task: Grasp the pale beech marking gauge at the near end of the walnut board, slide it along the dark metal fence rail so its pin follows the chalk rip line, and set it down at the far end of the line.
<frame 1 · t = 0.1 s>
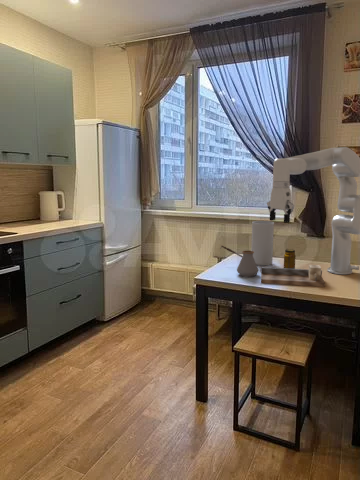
hand: (279, 221, 176), 31 cm above the table, tool pointing down, fingers open, 9 cm apart
cylinder vase: (261, 263, 222), on the table
coffee pot: (238, 274, 199), on the table
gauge: (314, 277, 184), point 2 cm above the table, touching board
board: (291, 281, 185), on the table
condiment: (290, 271, 205), on the table
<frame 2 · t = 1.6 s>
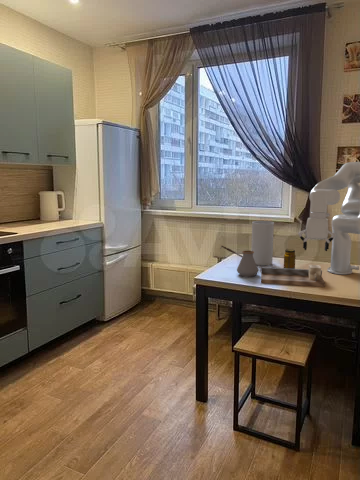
hand: (315, 250, 181), 16 cm above the table, tool pointing down, fingers open, 9 cm apart
nothing on the table moved.
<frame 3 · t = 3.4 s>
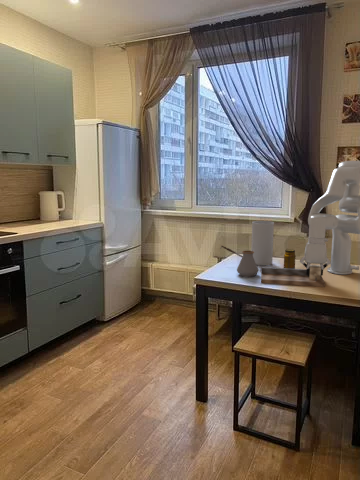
hand: (314, 275, 184), 3 cm above the table, tool pointing down, fingers closed on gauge, 5 cm apart
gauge: (314, 277, 184), point 2 cm above the table, touching board, gripper
everything else where it was.
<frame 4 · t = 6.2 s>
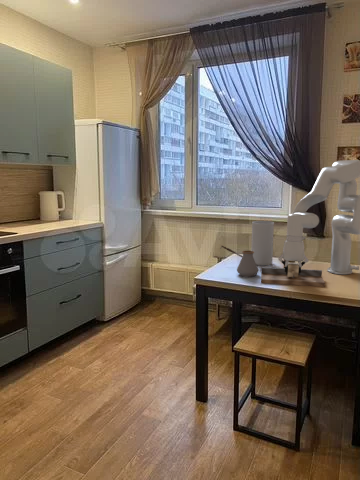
hand: (292, 273, 186), 4 cm above the table, tool pointing down, fingers closed on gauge, 5 cm apart
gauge: (292, 275, 186), point 3 cm above the table, touching gripper
everything else where it was.
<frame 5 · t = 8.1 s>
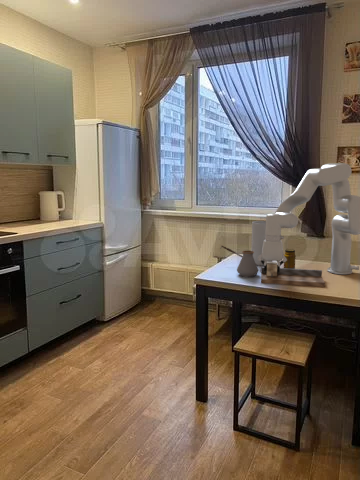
hand: (271, 272, 188), 4 cm above the table, tool pointing down, fingers closed on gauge, 5 cm apart
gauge: (271, 274, 188), point 3 cm above the table, touching gripper
everything else where it was.
when the fingers open (3 cm above the table, at t = 9.3 s): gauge stays where it is, resting on board.
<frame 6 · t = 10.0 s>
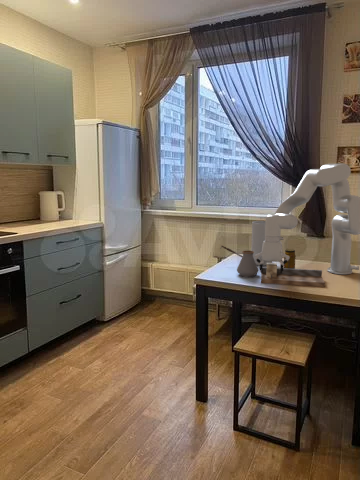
hand: (271, 271, 188), 4 cm above the table, tool pointing down, fingers open, 9 cm apart
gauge: (271, 275, 189), point 2 cm above the table, touching board
everything else where it was.
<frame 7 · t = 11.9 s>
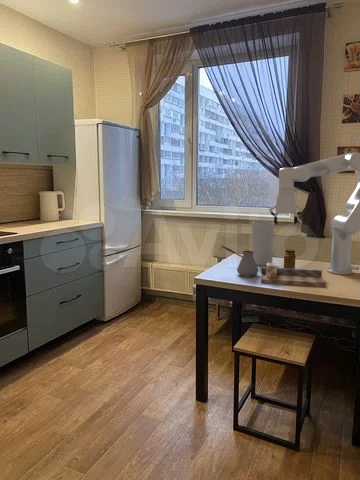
hand: (285, 224, 195), 27 cm above the table, tool pointing down, fingers open, 9 cm apart
nothing on the table moved.
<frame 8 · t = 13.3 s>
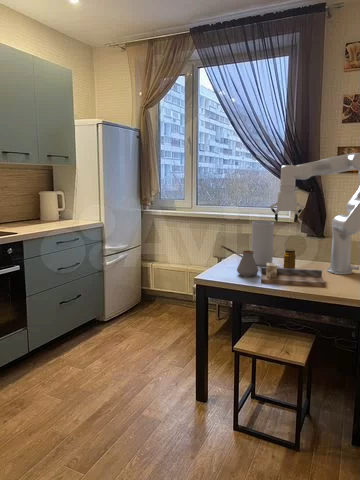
hand: (286, 221, 196), 28 cm above the table, tool pointing down, fingers open, 9 cm apart
nothing on the table moved.
at the end: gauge 0.2 cm from the target spot, point 2.0 cm above the table; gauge tilted 0°; the gripper is holding nothing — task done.
